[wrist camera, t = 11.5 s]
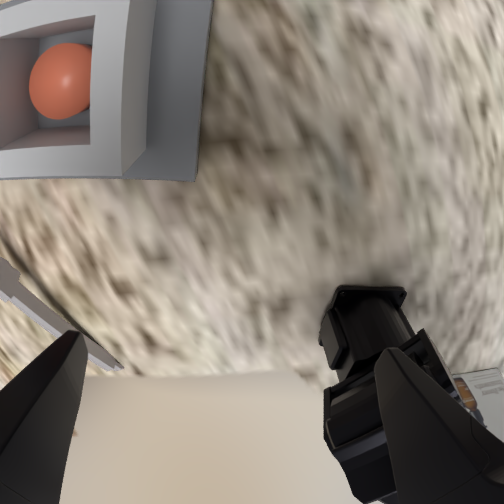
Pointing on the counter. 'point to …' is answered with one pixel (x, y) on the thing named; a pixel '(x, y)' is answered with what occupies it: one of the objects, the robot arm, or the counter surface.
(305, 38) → the counter surface
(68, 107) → the button
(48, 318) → the caliper
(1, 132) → the grey square holder
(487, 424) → the skincare box
